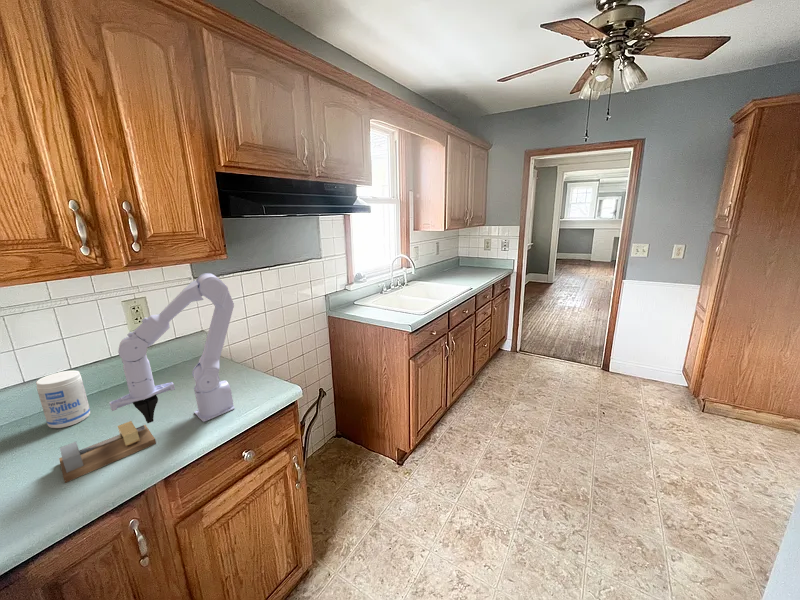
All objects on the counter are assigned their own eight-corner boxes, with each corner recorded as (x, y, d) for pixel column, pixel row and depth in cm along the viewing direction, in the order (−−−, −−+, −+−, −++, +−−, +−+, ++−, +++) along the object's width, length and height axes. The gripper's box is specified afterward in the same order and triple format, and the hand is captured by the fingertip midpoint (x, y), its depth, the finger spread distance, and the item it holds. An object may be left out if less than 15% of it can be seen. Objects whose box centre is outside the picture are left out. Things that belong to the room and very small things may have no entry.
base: (146, 428, 97) (142, 414, 96) (156, 443, 91) (152, 427, 90) (60, 463, 84) (55, 446, 83) (65, 483, 78) (59, 465, 76)
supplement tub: (55, 433, 96) (40, 388, 92) (43, 424, 100) (28, 380, 97) (97, 415, 104) (85, 373, 100) (84, 408, 109) (72, 367, 105)
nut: (133, 430, 94) (131, 420, 93) (139, 440, 89) (137, 430, 88) (120, 435, 91) (117, 425, 91) (125, 446, 87) (123, 436, 86)
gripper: (165, 365, 100) (174, 405, 103) (103, 383, 89) (114, 427, 92) (173, 372, 95) (181, 413, 99) (108, 392, 85) (120, 438, 88)
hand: (149, 421), depth 95 cm, fingers closed
